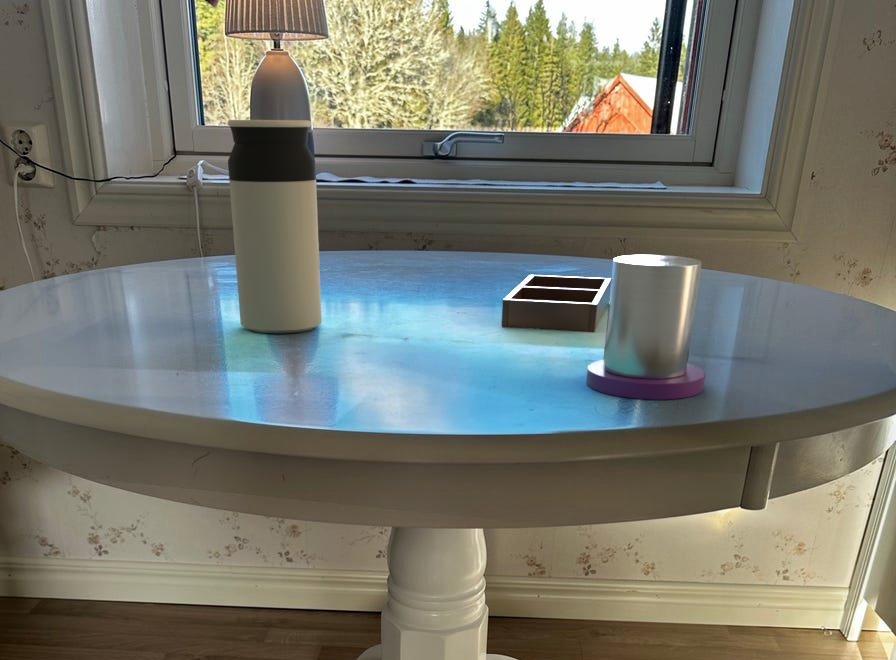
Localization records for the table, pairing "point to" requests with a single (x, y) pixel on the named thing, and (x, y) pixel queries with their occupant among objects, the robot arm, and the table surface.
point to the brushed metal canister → (651, 316)
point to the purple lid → (646, 384)
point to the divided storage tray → (557, 303)
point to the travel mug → (275, 225)
